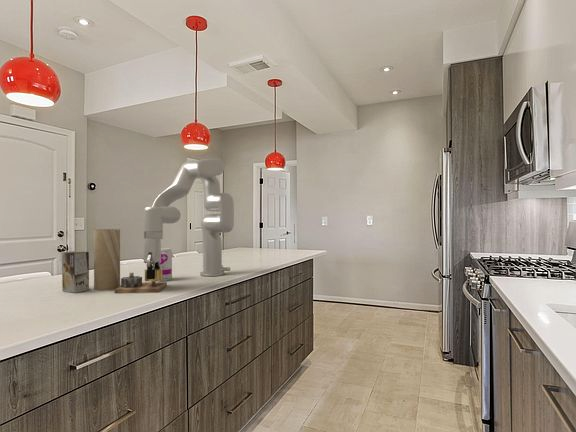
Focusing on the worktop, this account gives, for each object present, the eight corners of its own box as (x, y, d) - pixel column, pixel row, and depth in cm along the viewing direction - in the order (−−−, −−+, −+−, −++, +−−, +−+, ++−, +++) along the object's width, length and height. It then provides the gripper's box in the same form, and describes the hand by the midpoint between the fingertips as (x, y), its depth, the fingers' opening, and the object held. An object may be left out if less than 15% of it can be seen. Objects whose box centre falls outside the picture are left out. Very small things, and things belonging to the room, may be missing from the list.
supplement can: (168, 281, 168) (168, 249, 168) (151, 281, 168) (150, 249, 168) (174, 278, 176) (174, 248, 176) (157, 278, 176) (157, 248, 176)
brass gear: (163, 278, 156) (163, 268, 156) (159, 281, 149) (159, 270, 149) (147, 278, 155) (147, 268, 155) (142, 281, 149) (142, 271, 149)
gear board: (166, 285, 159) (166, 269, 159) (158, 292, 145) (158, 274, 145) (126, 286, 157) (126, 270, 157) (114, 293, 143) (114, 275, 143)
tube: (88, 289, 150) (88, 230, 150) (105, 285, 159) (105, 229, 159) (108, 291, 147) (108, 230, 147) (125, 286, 157) (125, 229, 157)
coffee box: (90, 290, 149) (89, 251, 149) (74, 293, 143) (74, 253, 143) (76, 288, 153) (76, 250, 153) (61, 291, 148) (61, 252, 148)
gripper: (150, 234, 161) (150, 274, 161) (137, 236, 143) (137, 281, 143) (167, 234, 161) (167, 274, 161) (157, 236, 144) (157, 281, 144)
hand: (153, 277), depth 152 cm, fingers closed on brass gear, 6 cm apart
